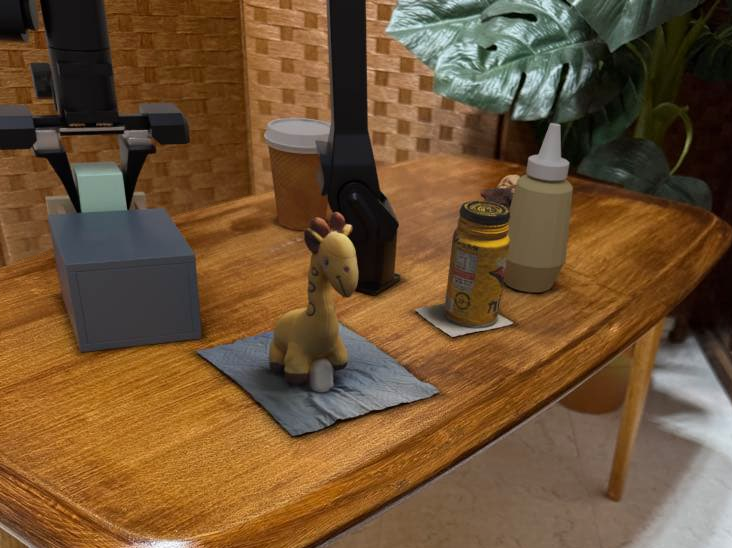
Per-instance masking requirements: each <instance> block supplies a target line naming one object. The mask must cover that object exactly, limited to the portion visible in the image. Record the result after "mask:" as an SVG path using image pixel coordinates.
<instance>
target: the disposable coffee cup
mask: <svg viewBox="0 0 732 548" xmlns="http://www.w3.org/2000/svg"><path fill="white" fill-rule="evenodd" d="M330 127H331V122H326V121H324V120H320V119H319V120H318V119H315V118H305V117H283V118H277V119H273V120H271V121H269V122H268V123H267V125H266V130H265V132H264V134H263V138H264V140H265V142H266V145H267V147H268V155H269V162H270V163H269V164H270V170H271V179H272V185H273V193H274V199H275V207H276V208H275V209H276V215H277V223H278V224H279V225H280V226H282V227H284V228H287V229H290V230H295V231H305V229H309V228H310V224H311V221H312V220H313V219H314V218H321V219H323V220H325V221H326V219H327V212H328V206H329V203H328V199H327V196H326V195H325V196H322V195H321V192H320V188H319V184H318V180H317V173H318V170H319V156H318V152H317V147H316V142H315V141H316V140H319V141H326V142H328V137H329V132H330Z"/></svg>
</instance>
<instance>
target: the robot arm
mask: <svg viewBox="0 0 732 548" xmlns="http://www.w3.org/2000/svg"><path fill="white" fill-rule="evenodd" d="M39 4H40V9H41V15H42V16H41V17H42V22H43V28H44V34H45V41H46V47H47V52H48V58H49V62H29V68H30V69H29V70H30V75H31V81H32V86H33V92H34V95H35V99H36V100H37V101H38V100H41V101H42V100H43V101H44V100H45V101H46V100H52V101H53V103H52V104H53V108H54V110H55V112H57V114H40V115H39V114H37V115H36V114H35V115H34V114H32V112H31V109H30V108H29V105H28V104H10V105H9V104H4V105H3V104H0V151H14V150H16V151H18V150H32V153H33V155H34V157H35V158H38V159H46V160H47V162H48V163H49V165H50V166H51V167H52V169H53V170H54V172H55V174H56V176H57V177H58V178H59V180H60V181H61V183H62V186H63V187H64V190H65V192H66V194H67V195H68V196H69V198H70V200H71V202H72V204H73V206H74V208H75V210H76V212H77V213H81V207H80V200H79V197H78V193H77V190H76V186H75V182H74V179H73V174H72V168H71V164H70V161H69V158H68V155H67V152H66V151H67V150H66V149H65V146H63V143H62V137H68V136H69V137H73V136H77V137H79V136H109V135H112V136H113V135H117V141H118V147H119V148H118V149H119V158H120V159H119V160H120V163H119V164H120V171H121V172H122V174H123V181H124V189H125V197H126V205H127V210H129V209H130V205H131V202H132V198H133V194H134V192H135V189H136V186H137V183H138V179H139V175H140V174H141V171H142V169H143V167H144V164H145V162H146V159H147V157H148V156H149V155H155V154H157V147H156V145H155V144H154V143H153V139H154V140H155V141H156V142H157V143H158V145H160V146H166V145H167V146H170V145H171V146H172V145H188V144H190V143H191V137H190V126H189V121H188V118H187V117H186V116H185V114H183V113H182V111H181V110H180V109H179V108H178V107H177V106H176V105H175V104H174V103H173V102H140V103H139V107H138V108H139V109H138V113H119V107H118V98H117V91H116V90H117V89H116V83H115V75H114V66H113V58H112V57H113V56H112V50H111V43H110V42H111V41H110V34H109V33H110V32H109V26H108V18H107V10H106V0H39ZM39 16H40V15H39V7H38V1H37V0H0V42H2V43H3V42H6V43H21V44H22V43H23V44H27V43H29V40H30V31H31V32H38V31H39V29H40V17H39ZM326 26H327V48H328V49H327V50H328V72H329V73H328V75H329V98H330V120H331V121H330V124H331V127H330V132H329V137H328V142H326V141H319V140H316V141H315V142H316V147H317V152H318V156H319V170H318V173H317V180H318V184H319V188H320V192H321V195H322V196H325V195H326V196H327V199H328V206H329V208H330V211H331V212H332V214H333V213H334V212H338V213H340V214H341V215H342V216H343V217H344V219H345V224H349V225H352V228H353V229H352V233H351V234H350V235H349V236H348V238H349V239H350V241H351V242H352V243H353V246H354V248H355V252H356V258H357V266H358V282H357V287H356V289H355V290H354V291H359V292H363V293H365V294H369V295H373V296H374V295H378V294H380V293H381V292H383V291H384V290H385V289H387V288H389V287H391V286H392V285H393V284H395V283H397V282H399V281H400V280H401V274H400V273H396V272H395V271H396V259H397V258H396V257H397V256H396V255H397V244H398V243H397V242H398V229H399V227H400V223H399V221H398V219H397V216H396V214H395V211H394V209H393V207H392V205H391V202H390V200H389V198H388V197H387V195H385V193H383V191H382V190H381V187H380V181H379V175H378V171H377V170H378V169H377V164H376V159H375V156H374V150H373V146H372V142H371V137H370V132H369V116H368V115H369V109H368V107H369V105H368V102H369V101H368V55H367V54H368V49H367V48H368V47H367V46H368V45H367V44H368V43H367V42H368V41H367V0H326Z"/></svg>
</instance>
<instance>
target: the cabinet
mask: <svg viewBox="0 0 732 548" xmlns="http://www.w3.org/2000/svg"><path fill="white" fill-rule="evenodd" d="M47 220H48V227H49V232H50V237H51V242H52V248H53V254H54V259H55V264H56V270H57V271H56V272H57V275H58V281H59V287H60V291H61V297H62V300H63V303H64V306H65V309H66V312H67V315H68V318H69V321H70V324H71V327H72V329H73V333H74V336H75V339H76V342H77V346H78V347H79V351H80V353H88V352H89V353H90V352H97V351H104V350H114V349H122V348H123V349H124V348H132V347H140V346H149V345H150V346H151V345H158V344H166V343H175V342H183V341H185V342H186V341H192V340H200V339H202V325H201V311H200V310H201V309H200V297H199V285H198V272H197V271H198V270H197V260H196V254H195V252H194V250H193V249H192V248H191V246H190V244H189V243H188V241H187V240H186V239H185V237H184V235H183V234H182V232H181V230H179V228H178V226H177V225H176V223H175V222H174V221H173V219H172V218H171V216H170V214H169V213H168V211H167V210H166V208H165V207H158V208H157V207H155V208H147V209H138V210H120V211H102V212H85V213H67V214H49V215H48V214H47Z"/></svg>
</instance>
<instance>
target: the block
mask: <svg viewBox="0 0 732 548" xmlns="http://www.w3.org/2000/svg"><path fill="white" fill-rule="evenodd" d="M119 167H120V166H118V164H117V163H116V161H112V160H111V161H91V162H89V161H88V162H71V163H70V168H71V172H72V175H73V179H74V182H75V186H76V190H77V193H78V197H79V200H80V207H81V213H85V212H102V211H120V210H127V205H126V197H125V189H124V181H123V174H122V172H121V168H119Z"/></svg>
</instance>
